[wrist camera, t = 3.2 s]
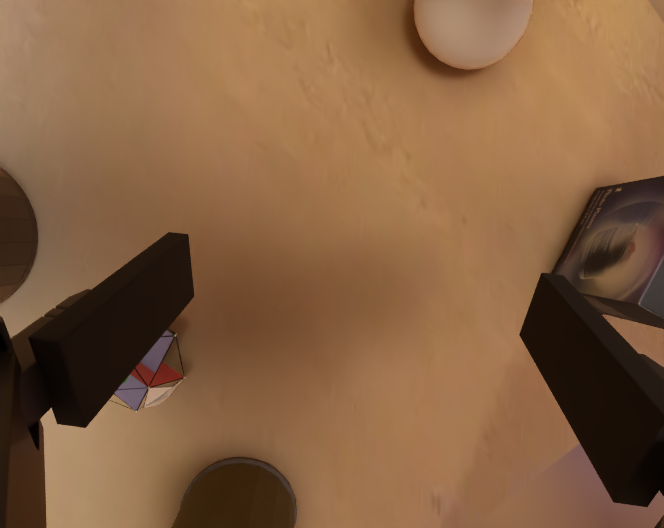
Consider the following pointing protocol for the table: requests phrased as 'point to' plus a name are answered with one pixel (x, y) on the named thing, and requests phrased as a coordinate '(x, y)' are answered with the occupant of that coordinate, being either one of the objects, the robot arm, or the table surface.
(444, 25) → the flower vase
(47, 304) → the table surface
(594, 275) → the small box
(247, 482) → the canister
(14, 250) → the round brown bowl
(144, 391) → the geometric puzzle
